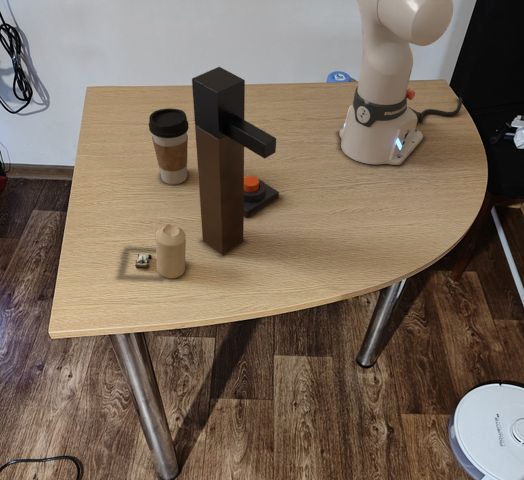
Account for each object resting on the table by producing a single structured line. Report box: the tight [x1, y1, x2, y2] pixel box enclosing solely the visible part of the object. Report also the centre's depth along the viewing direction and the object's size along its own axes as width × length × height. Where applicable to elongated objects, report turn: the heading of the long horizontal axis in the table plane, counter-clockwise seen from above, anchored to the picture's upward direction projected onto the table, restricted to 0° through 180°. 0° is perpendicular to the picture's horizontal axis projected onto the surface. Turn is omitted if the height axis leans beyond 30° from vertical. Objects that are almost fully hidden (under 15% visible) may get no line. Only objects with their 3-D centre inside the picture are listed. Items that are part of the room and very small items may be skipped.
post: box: [194, 124, 245, 256], centre depth 105 cm, size 6×6×26 cm
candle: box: [155, 223, 187, 279], centre depth 105 cm, size 6×6×10 cm
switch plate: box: [244, 178, 280, 218], centre depth 122 cm, size 10×8×4 cm
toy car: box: [135, 252, 153, 269], centre depth 109 cm, size 3×4×2 cm, turn 179°
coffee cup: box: [148, 108, 190, 185], centre depth 122 cm, size 8×8×15 cm
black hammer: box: [191, 66, 277, 159], centre depth 89 cm, size 6×15×8 cm, turn 46°
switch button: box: [244, 175, 259, 192], centre depth 120 cm, size 4×4×2 cm
